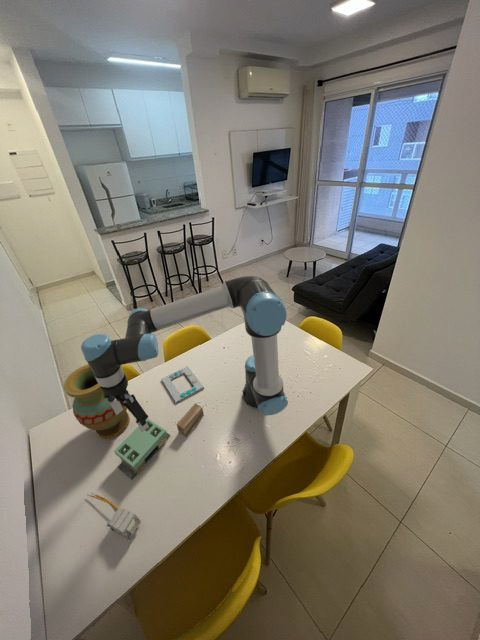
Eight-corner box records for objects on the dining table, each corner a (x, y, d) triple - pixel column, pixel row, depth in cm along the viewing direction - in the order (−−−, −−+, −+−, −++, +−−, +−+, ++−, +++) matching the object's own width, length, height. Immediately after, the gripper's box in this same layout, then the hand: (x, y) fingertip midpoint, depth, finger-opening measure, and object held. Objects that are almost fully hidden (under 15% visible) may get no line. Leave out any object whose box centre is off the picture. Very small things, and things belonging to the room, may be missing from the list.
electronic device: (161, 378, 133) (187, 365, 140) (162, 381, 135) (188, 368, 142) (175, 401, 121) (203, 386, 128) (176, 404, 122) (204, 389, 129)
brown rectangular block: (203, 415, 116) (202, 407, 112) (185, 437, 108) (183, 428, 104) (197, 411, 118) (195, 403, 114) (178, 432, 110) (176, 424, 106)
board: (167, 434, 103) (165, 430, 102) (135, 470, 92) (133, 466, 91) (148, 421, 108) (146, 418, 107) (115, 454, 97) (113, 450, 96)
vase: (145, 411, 119) (126, 364, 102) (115, 452, 104) (87, 405, 86) (111, 401, 125) (88, 355, 108) (78, 438, 109) (45, 391, 92)
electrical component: (82, 514, 89) (75, 507, 87) (96, 495, 94) (89, 488, 91) (131, 542, 79) (124, 535, 76) (144, 520, 83) (138, 513, 81)
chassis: (171, 436, 108) (167, 425, 104) (132, 480, 94) (126, 470, 90) (156, 426, 112) (152, 415, 108) (117, 467, 99) (110, 456, 94)
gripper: (149, 386, 77) (164, 427, 89) (98, 358, 88) (118, 398, 100) (128, 404, 71) (147, 446, 84) (77, 372, 83) (101, 412, 95)
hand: (131, 420), depth 92 cm, fingers open, 13 cm apart
